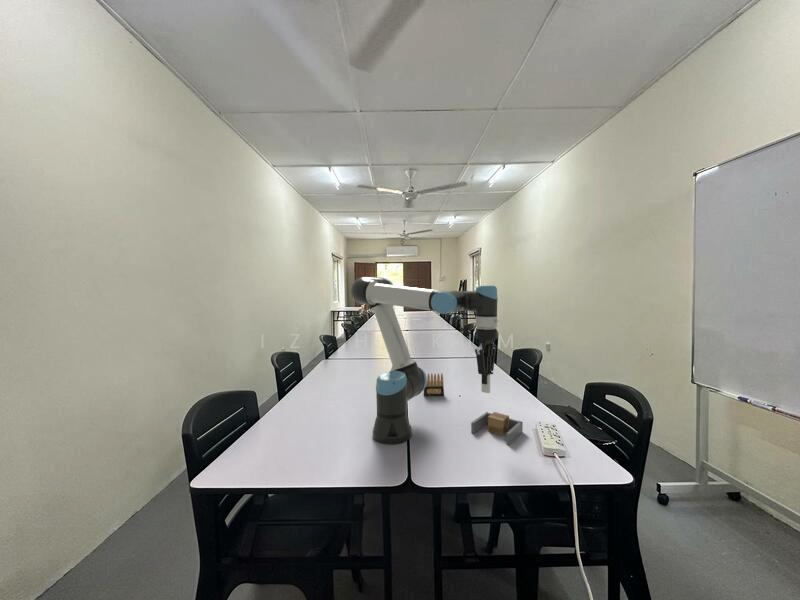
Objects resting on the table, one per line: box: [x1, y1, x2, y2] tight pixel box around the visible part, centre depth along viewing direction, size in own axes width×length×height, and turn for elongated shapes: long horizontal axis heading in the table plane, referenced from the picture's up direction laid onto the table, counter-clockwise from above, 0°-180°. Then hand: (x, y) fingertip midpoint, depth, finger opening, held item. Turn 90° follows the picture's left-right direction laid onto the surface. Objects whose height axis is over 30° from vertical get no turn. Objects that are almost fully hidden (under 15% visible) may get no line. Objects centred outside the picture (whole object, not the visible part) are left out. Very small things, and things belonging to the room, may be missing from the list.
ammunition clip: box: [423, 372, 445, 397], centre depth 160 cm, size 11×2×12 cm, turn 90°
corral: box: [470, 411, 524, 446], centre depth 118 cm, size 13×15×4 cm
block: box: [487, 411, 510, 437], centre depth 119 cm, size 6×6×6 cm
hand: (485, 391), depth 111 cm, fingers closed
